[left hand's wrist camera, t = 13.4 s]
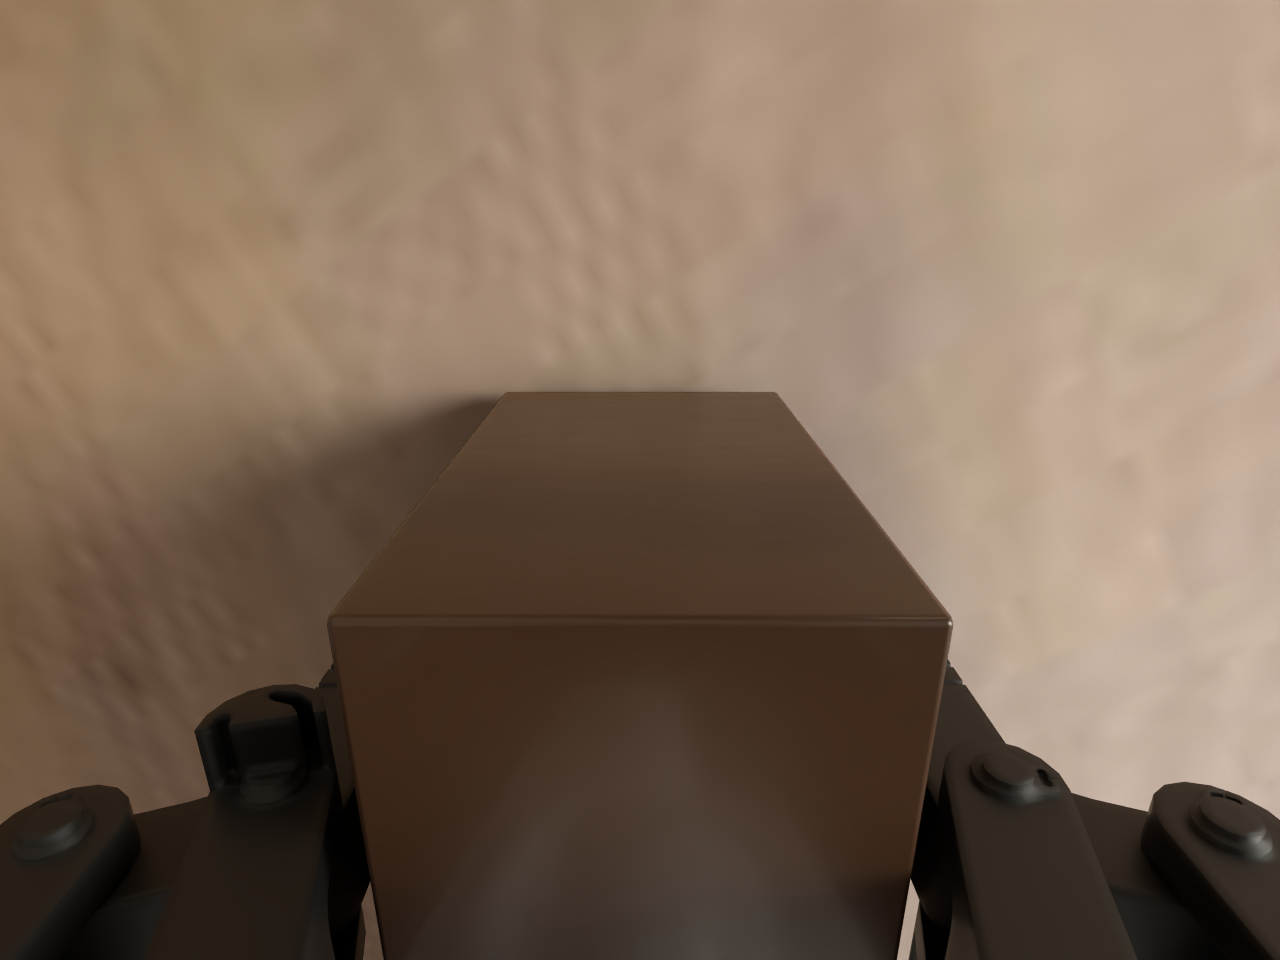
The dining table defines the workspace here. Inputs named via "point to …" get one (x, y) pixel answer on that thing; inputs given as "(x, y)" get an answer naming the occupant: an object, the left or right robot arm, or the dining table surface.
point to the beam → (640, 693)
